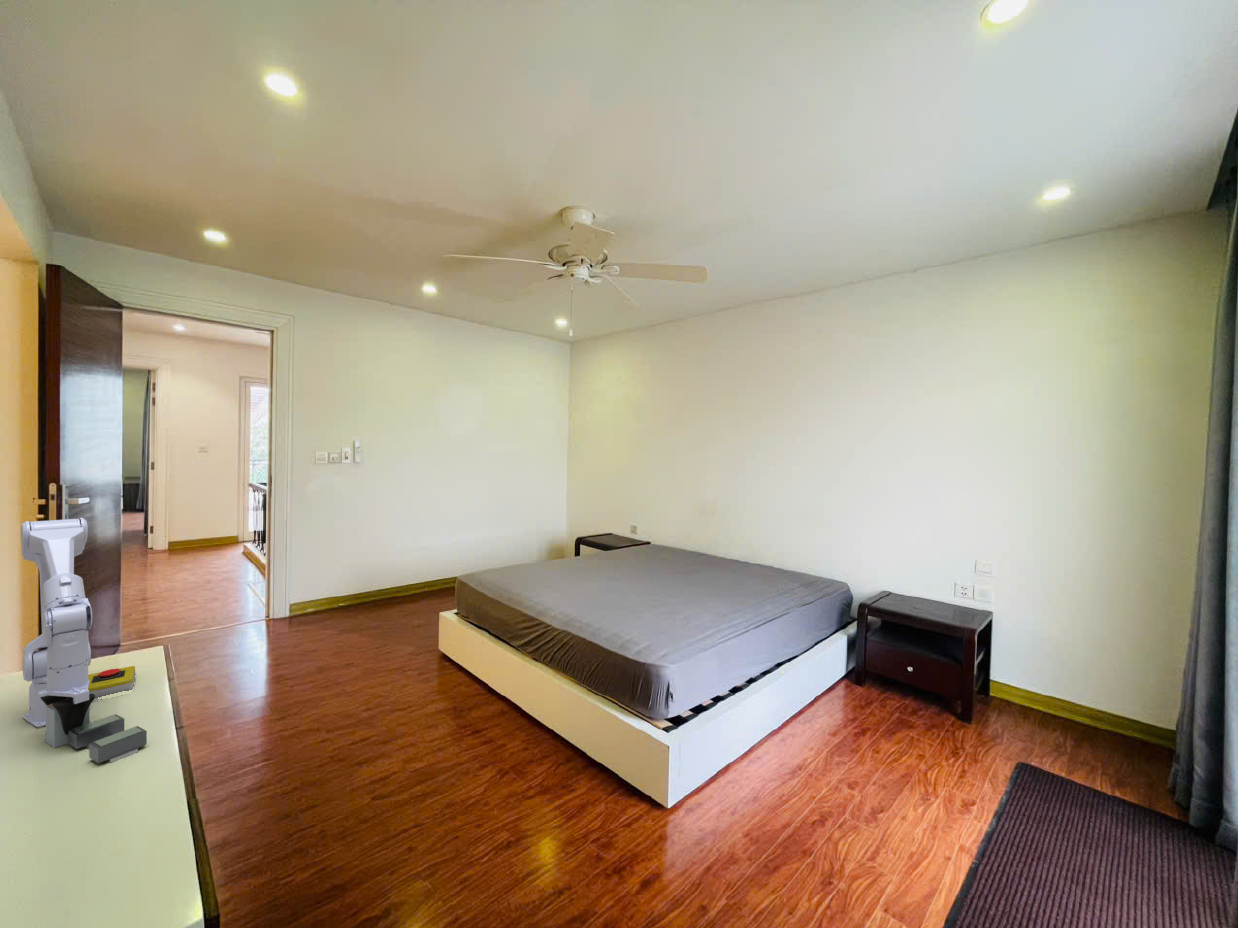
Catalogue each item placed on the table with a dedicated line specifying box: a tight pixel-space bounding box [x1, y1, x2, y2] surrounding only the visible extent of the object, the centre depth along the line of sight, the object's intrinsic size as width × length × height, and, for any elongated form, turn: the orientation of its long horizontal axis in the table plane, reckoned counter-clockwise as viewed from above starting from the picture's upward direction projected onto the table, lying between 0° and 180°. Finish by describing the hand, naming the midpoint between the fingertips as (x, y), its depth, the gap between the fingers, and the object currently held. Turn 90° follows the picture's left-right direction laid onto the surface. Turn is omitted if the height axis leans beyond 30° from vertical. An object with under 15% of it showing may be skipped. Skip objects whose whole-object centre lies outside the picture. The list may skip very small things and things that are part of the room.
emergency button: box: [88, 665, 137, 703], centre depth 124 cm, size 9×4×15 cm
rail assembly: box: [68, 713, 148, 764], centre depth 99 cm, size 15×7×4 cm, turn 64°
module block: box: [45, 699, 91, 749], centre depth 102 cm, size 4×5×8 cm
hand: (67, 729), depth 102 cm, fingers closed on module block, 4 cm apart
